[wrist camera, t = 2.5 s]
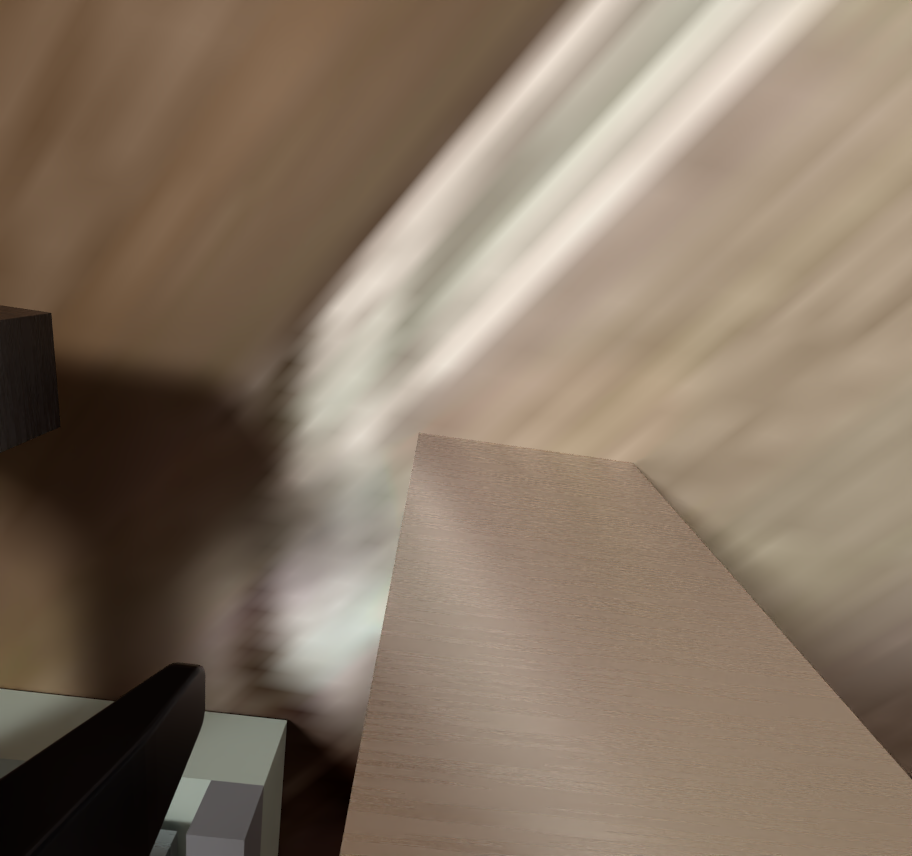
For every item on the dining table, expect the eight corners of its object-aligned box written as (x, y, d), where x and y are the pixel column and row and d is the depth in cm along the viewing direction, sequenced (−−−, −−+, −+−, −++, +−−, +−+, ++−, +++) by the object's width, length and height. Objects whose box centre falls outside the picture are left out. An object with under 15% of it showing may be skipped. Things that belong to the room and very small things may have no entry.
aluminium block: (632, 462, 10) (1259, 1171, 2) (564, 713, 12) (777, 1576, 4) (419, 432, 10) (295, 1098, 2) (383, 692, 11) (246, 1562, 4)
